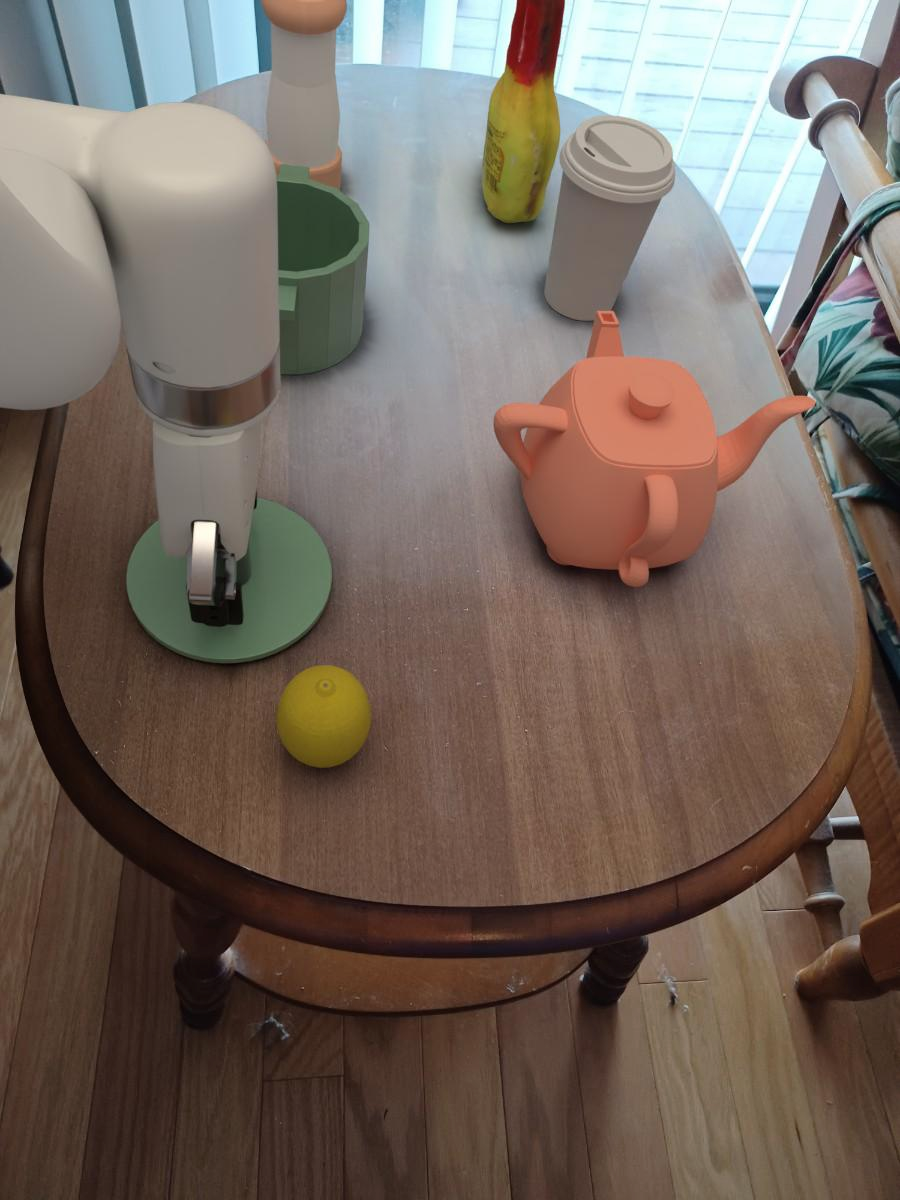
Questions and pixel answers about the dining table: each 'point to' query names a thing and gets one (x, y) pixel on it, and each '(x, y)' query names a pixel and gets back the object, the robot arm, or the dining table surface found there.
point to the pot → (318, 272)
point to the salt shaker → (304, 87)
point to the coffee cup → (604, 210)
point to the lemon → (323, 716)
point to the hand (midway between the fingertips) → (226, 560)
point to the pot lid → (268, 580)
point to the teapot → (627, 458)
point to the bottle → (524, 115)
